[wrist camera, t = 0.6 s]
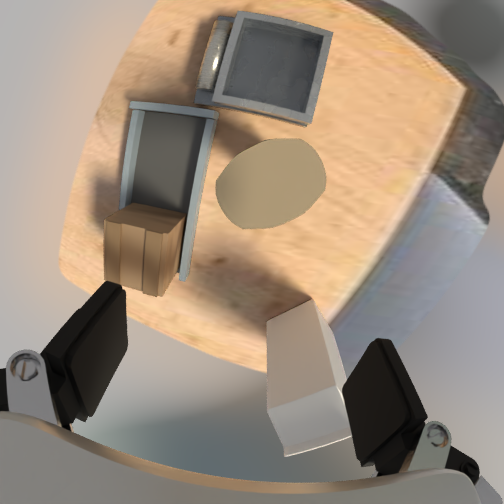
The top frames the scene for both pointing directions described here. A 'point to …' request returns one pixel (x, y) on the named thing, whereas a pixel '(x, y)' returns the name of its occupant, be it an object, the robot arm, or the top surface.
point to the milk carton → (305, 380)
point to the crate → (143, 247)
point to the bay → (168, 163)
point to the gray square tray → (264, 67)
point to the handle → (271, 183)
